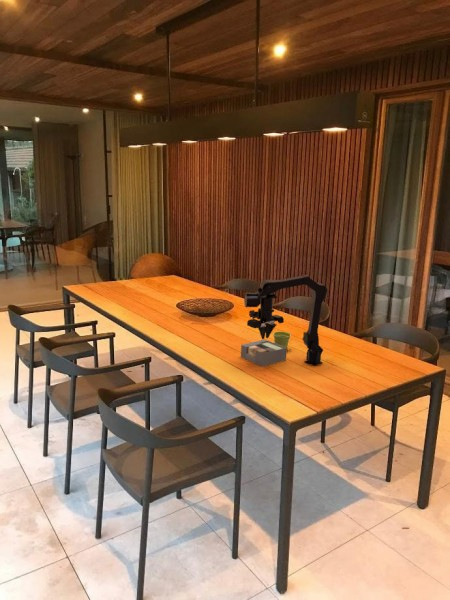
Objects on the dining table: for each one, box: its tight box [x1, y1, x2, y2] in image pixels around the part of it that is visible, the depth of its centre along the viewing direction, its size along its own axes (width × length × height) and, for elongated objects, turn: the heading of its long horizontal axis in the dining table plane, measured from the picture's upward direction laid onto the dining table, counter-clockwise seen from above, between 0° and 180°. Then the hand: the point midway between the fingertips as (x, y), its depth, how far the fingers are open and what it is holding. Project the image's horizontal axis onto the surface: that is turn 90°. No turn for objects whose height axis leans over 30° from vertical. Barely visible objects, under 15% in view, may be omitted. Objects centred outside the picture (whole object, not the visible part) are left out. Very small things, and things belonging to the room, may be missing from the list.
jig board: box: [240, 339, 288, 368], centre depth 239 cm, size 16×16×6 cm
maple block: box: [248, 346, 267, 356], centre depth 235 cm, size 9×4×4 cm, turn 37°
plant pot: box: [272, 331, 292, 349], centre depth 253 cm, size 9×9×9 cm
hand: (264, 338), depth 229 cm, fingers open, 2 cm apart
